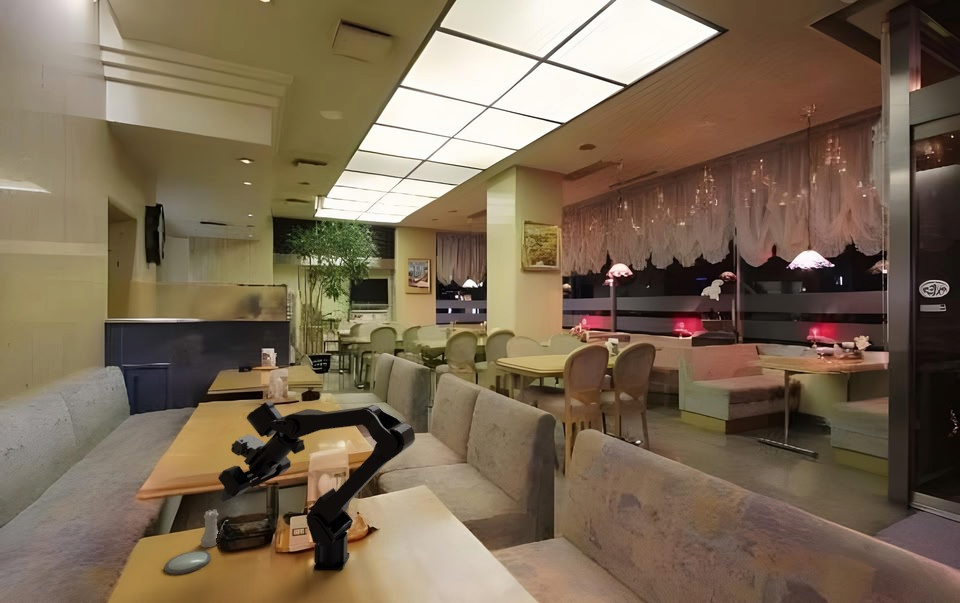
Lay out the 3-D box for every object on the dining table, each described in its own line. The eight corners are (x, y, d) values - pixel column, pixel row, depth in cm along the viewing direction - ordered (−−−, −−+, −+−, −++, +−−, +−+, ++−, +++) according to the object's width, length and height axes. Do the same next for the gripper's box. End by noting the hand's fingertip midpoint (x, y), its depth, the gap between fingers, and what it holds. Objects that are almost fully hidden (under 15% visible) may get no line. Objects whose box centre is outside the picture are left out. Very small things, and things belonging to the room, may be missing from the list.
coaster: (218, 553, 110) (218, 550, 110) (196, 574, 101) (196, 571, 101) (180, 553, 110) (181, 550, 110) (154, 574, 101) (154, 571, 101)
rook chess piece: (211, 549, 111) (211, 516, 112) (195, 547, 112) (196, 514, 113) (225, 540, 116) (225, 508, 116) (209, 538, 117) (210, 507, 117)
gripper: (281, 417, 121) (245, 456, 123) (225, 435, 103) (185, 480, 105) (307, 449, 119) (270, 488, 121) (254, 473, 100) (213, 519, 103)
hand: (236, 492), depth 112 cm, fingers open, 9 cm apart
